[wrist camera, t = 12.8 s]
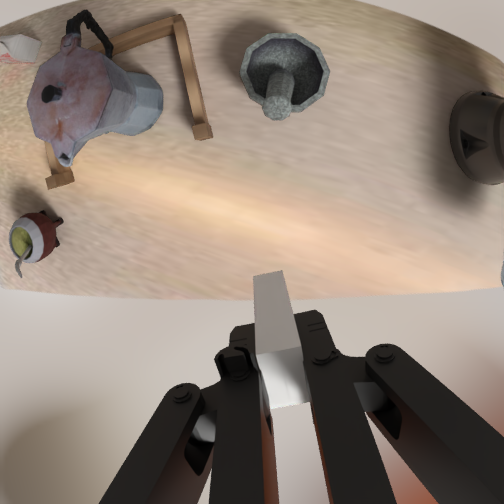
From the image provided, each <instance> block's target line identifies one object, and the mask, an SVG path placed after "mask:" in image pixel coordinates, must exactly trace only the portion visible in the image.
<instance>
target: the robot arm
mask: <svg viewBox="0 0 504 504" xmlns="http://www.w3.org/2000/svg"><path fill="white" fill-rule="evenodd" d="M450 140H451V145H452V149H453V153H454V155H455V158H456V160H457V162H458V164H459V166H460V167H461V169H462V170H463V172H464V173H465V174H466V175H467V176H468V177H469V178H471V179H472V180H474V181H476V182H479V183H483V184H487V185H497V184H500V183H503V182H504V97H501V96H498V95H496V94H493V93H490V92H487V91H476V92H470V93H467V94H465V95H463V96H462V97H461V98H460V99H459V100H458V101H457V103H456V105H455V106H454V109H453V111H452V115H451V120H450ZM501 282H502V285H503V287H504V261H503V266H502V271H501ZM253 284H254V314H255V323H252V324H247V325H241V326H236V327H235V328H234V329H233V330H232V332H231V333H230V340H229V342H230V343H229V346H228V347H226V348H224V349H222V350H220V352H218V354H217V355H216V356H215V358H214V360H215V363H216V366H217V369H218V371H219V374H220V377H221V380H220V381H219V382H217V383H216V384H214V385H211V386H209V387H206V388H204V389H201V390H200V389H199V387H198V386H197V385H195V384H191V383H182V384H179V385H176V386H174V387H173V388H171V389H170V390H169V391H168V392H167V393H166V394H165V396H164V398H163V399H162V401H161V403H160V404H159V406H158V407H157V409H156V411H155V413H154V414H153V416H152V417H151V419H150V421H149V422H148V424H147V425H146V427H145V429H144V430H143V432H142V434H141V436H140V437H139V439H138V440H137V442H136V443H135V445H134V447H133V448H132V450H131V452H130V453H129V455H128V457H127V458H126V460H125V461H124V463H123V465H122V466H121V468H120V470H119V471H118V473H117V474H116V476H115V478H114V480H113V481H112V483H111V484H110V486H109V488H108V489H107V491H106V492H105V494H104V496H103V497H102V499H101V501H100V502H99V504H197V503H198V501H199V498H200V496H201V493H202V491H203V488H204V486H205V484H206V481H207V479H208V476H209V474H210V471H211V468H212V472H211V483H210V494H209V504H279V495H278V482H277V469H276V457H275V446H274V432H273V421H272V416H271V413H270V407H271V409H274V408H280V407H285V406H291V405H296V404H301V403H306V402H310V405H311V411H312V417H313V424H314V425H315V431H316V436H317V441H318V445H319V450H320V456H321V460H322V466H323V470H324V476H325V481H326V486H327V492H328V497H329V502H330V504H397V503H396V500H395V497H394V494H393V491H392V488H391V485H390V482H389V479H388V476H387V473H386V470H385V467H384V464H383V462H382V459H381V456H380V453H379V450H378V448H377V445H376V442H375V439H374V436H373V434H372V431H371V428H370V426H369V423H368V420H367V417H366V415H365V412H366V413H367V415H368V417H369V418H370V419H371V420H372V421H373V423H374V424H375V425H376V427H377V428H378V429H379V430H380V432H381V433H382V434H383V435H384V437H385V438H386V439H387V440H388V441H389V443H390V444H391V445H392V446H393V448H394V449H395V450H396V451H397V453H398V454H399V455H400V456H401V458H402V459H403V460H404V461H405V463H406V464H407V465H408V466H409V468H410V469H411V470H412V471H413V473H414V474H415V475H416V476H417V478H418V479H419V480H420V481H421V482H422V484H423V485H424V486H425V487H426V489H427V490H428V491H429V492H430V494H431V495H432V496H433V497H434V498H435V500H436V501H437V502H438V503H439V504H504V437H503V436H502V435H501V434H500V433H499V432H497V431H496V430H495V429H494V428H493V427H492V426H490V424H488V423H487V422H486V421H485V420H484V419H483V418H482V417H480V416H479V415H478V414H477V413H476V412H475V411H474V410H472V409H471V408H470V407H469V406H468V405H466V403H464V402H463V401H462V400H461V399H460V398H459V397H457V396H456V395H455V394H454V393H453V392H452V391H451V390H449V389H448V388H447V387H446V386H445V385H443V384H442V383H441V382H440V381H439V380H438V379H436V378H435V377H434V376H433V375H432V374H431V373H429V372H428V371H427V370H426V369H425V368H424V367H422V366H421V365H420V364H419V363H418V362H416V361H415V360H414V359H413V358H412V357H411V356H409V355H408V354H407V353H406V352H405V351H403V350H402V349H401V348H400V347H398V346H396V345H392V344H380V345H377V346H374V347H372V348H371V349H369V351H368V352H367V353H366V357H349V356H345V355H343V354H341V352H340V351H339V350H338V349H336V347H335V345H334V342H333V340H332V337H331V335H330V332H329V330H328V328H327V325H326V323H325V320H324V317H323V315H322V314H321V313H319V312H318V311H317V310H311V311H307V312H302V313H297V314H293V311H292V307H291V303H290V299H289V295H288V291H287V287H286V283H285V279H284V275H283V271H282V270H281V271H277V272H272V273H267V274H262V275H257V276H253ZM269 404H270V405H269Z"/></svg>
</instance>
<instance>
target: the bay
mask: <svg viewBox="0 0 504 504" xmlns="http://www.w3.org/2000/svg"><path fill="white" fill-rule="evenodd" d="M172 34H175V35H176V40H177V45H178V50H179V54H180V59H181V64H182V68H183V73H184V77H185V82H186V86H187V91H188V95H189V100H190V104H191V109H192V113H193V118H194V122H195V126H192V130H193V134H194V138H195V140H201V141H202V140H205V139H209V138H213V134H212V129H211V126H210V125H209V123H208V119H207V115H206V110H205V106H204V102H203V97H202V93H201V88H200V84H199V80H198V75H197V71H196V66H195V62H194V57H193V53H192V48H191V44H190V39H189V35H188V30H187V26H186V22H185V20H184V19H183V17H182V15H181V14H178V15H175V16H171V17H168V18H165V19H162V20H159V21H156V22H153V23H150V24H147V25H144V26H141V27H138V28H136V29H133V30H130V31H128V32H125V33H123V34H120V35H118V36H115V37H113V38H111V39H109V40H110V42H111V43H112V44H113V46H114V49H113V50H112V51H113V53H112V56H113V55H116V54H118V53H121V52H123V51H126V50H128V49H131V48H134V47H136V46H139V45H142V44H145V43H148V42H151V41H153V40H156V39H159V38H163V37H166V36H169V35H172ZM88 49H89V50H93V51H97V52H101V53H102V54H103V55H105V48H104V46H103V45H102V42H101V43H99V44H97V45H95V46H93V47H90V48H88ZM35 78H36V77H35ZM45 146H46V151H47V156H48V160H49V165H50V169H51V174H52V176H50V177H48V178H45V179H46V183H47V187H48V190H49V189H52V188H56V187H59V186H63V185H66V184H69V183H71V182H74V177H73V173H72V171H71V169H70V166H69V167H64V166H63V165H61V164H60V163H59V161H58V159H57V158H56V157H55V154H54V151H53V148H52V145H51V144H50V143H48V142H46V141H45Z"/></svg>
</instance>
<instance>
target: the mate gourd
mask: <svg viewBox="0 0 504 504" xmlns="http://www.w3.org/2000/svg"><path fill="white" fill-rule="evenodd" d="M63 222H64V221H63V219H62V218H61V219H59V220H57V221H56V222H54V223H53V221H52V220H51V219H50V218H48V217H47V216H46V214H45V212H44V210H43V211H40V213H27V214H25V215H23V216H22V217H20V218H19V219H18V220H17V221H15V222H14V224H13V226H12V228H11V230H10V233H9V244H10V248H11V250H12V252H13V254H14V255H15V256H16V257H17V259H18V260H17V261H16V263H15V268H16V271H17V273H18V274H19V276H20V277H21V278H22V273H21V271H20V268H19V267H20V266H21V264H22V261H23V262H25V263H34V262H38V261H40V260H42V259H43V258H45V257H46V256H48V255H49V254H50V253H51V252H52V251H53V249H54V248H55V247H58V246H59V245H60V243H59V241H58V239H57V237H56V227H58V226H59V225H61V224H62V223H63Z"/></svg>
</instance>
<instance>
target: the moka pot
mask: <svg viewBox="0 0 504 504" xmlns="http://www.w3.org/2000/svg"><path fill="white" fill-rule="evenodd" d="M82 22H84V23H85V24H86V26H87V29H89V28H90V29H91V31H92V32H93V33H95V35H96V36H97V38H98V39H99V40H101V42H102V45H103V46H104V48H105V55H103V54H102V53H101V52H97V51H93V50H89V49H85V48H82V47H81V32H80V25H81V23H82ZM113 49H114V46H113V44H112V43H111V42H110V40H109V38H108V37H107V36H106V35H105V34H104V32H103V30H102V29H101V28H100V27H99V25H98V23H97V22H96V21H95V19H94V18H93V17H92V14H91V13H90V12H89V11H88V10H83V11H81V12H80V13H78V14H77V15H76V16H74V17H73V18H72V19H69V20H68V21H67V26H66V35H65V36H64V37H63V38H62V41H61V48H60V50H61V51H60V52H59V53H57V54H56V55H55V56H53V57H52V58H51V59H49V60H48V61H46V62H45V63H44V64H43V65H41V66H40V68H39V70H38V72H37V75H36V78H35V80H34V83H33V86H32V88H31V91H30V94H29V97H28V100H27V108H28V111H29V115H30V119H31V122H32V126H33V130H34V134H35V136H36V137H37V138H39V139H41V140H44V141H46V142H48V143H50V144H51V145H52V148H53V151H54V154H55V157H56V158H57V159H58V161H59V163H60V164H61V165H63V166H64V167H69V166H71V165H72V162H73V158H74V157H75V156H76V154H77V153H78V152H79V151H80V150H81V148H82V147H83V146H84V145H85V144H86V142H87V141H88V140H90V139H92V138H95V137H97V136H100V135H102V134H104V133H105V134H107V133H109V132H116V133H120V134H124V135H129V136H134V135H137V134H139V133H142V132H144V131H146V130H148V129H150V128H151V127H152V126H153V125H154V123H155V122H156V121H157V119H158V118H159V116H160V114H161V113H162V110H163V91H162V89H161V87H160V85H159V84H158V83H157V82H156V81H155V79H154V78H153V77H152V76H150V75H147V74H141V73H136V72H125V71H124V70H123V69H122V68H120V67H119V66H118V65H116V64H115V63H114V62H113V61H111V60H112V53H113V51H112V50H113Z"/></svg>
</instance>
